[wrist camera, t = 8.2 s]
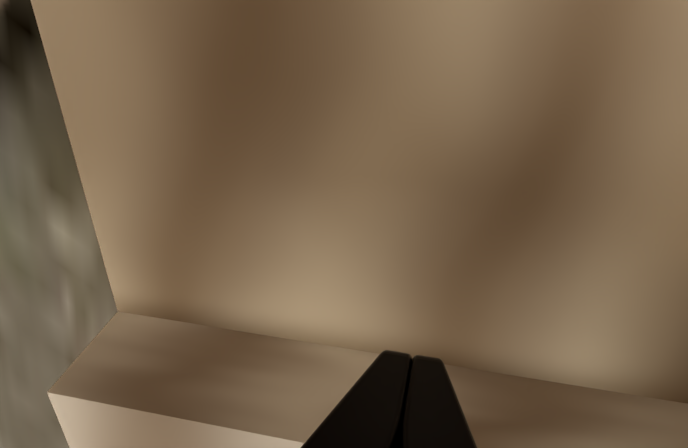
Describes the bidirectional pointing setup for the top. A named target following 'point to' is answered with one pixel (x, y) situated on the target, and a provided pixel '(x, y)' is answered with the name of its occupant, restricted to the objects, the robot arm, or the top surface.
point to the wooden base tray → (379, 213)
